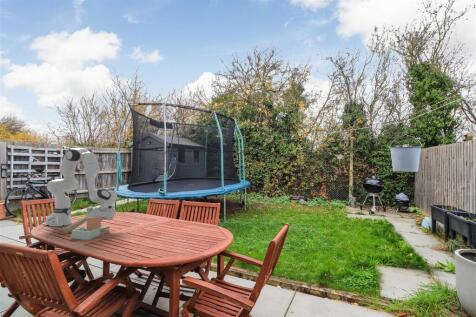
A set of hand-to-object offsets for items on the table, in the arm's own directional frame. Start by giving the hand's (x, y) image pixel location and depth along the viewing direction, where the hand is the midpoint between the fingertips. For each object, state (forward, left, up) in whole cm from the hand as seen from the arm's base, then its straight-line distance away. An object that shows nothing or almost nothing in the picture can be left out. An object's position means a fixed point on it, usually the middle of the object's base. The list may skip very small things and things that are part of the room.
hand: (97, 223), depth 226 cm
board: (0, -1, -7) cm, 7 cm away
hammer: (-20, +6, -8) cm, 22 cm away
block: (0, -4, -3) cm, 5 cm away
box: (0, -13, -7) cm, 15 cm away
